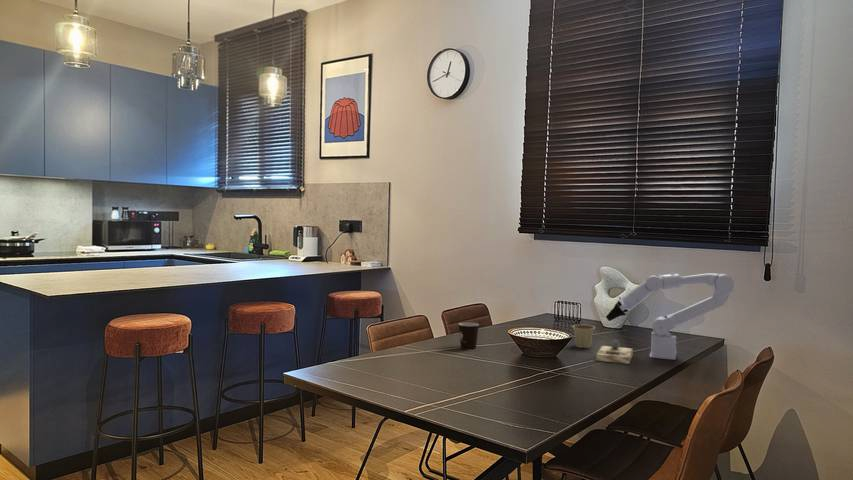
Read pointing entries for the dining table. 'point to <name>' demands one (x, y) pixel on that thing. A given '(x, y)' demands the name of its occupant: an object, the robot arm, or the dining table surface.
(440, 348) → the dining table surface
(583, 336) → the flower pot
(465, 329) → the coffee mug
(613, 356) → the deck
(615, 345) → the ball
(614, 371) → the dining table surface
